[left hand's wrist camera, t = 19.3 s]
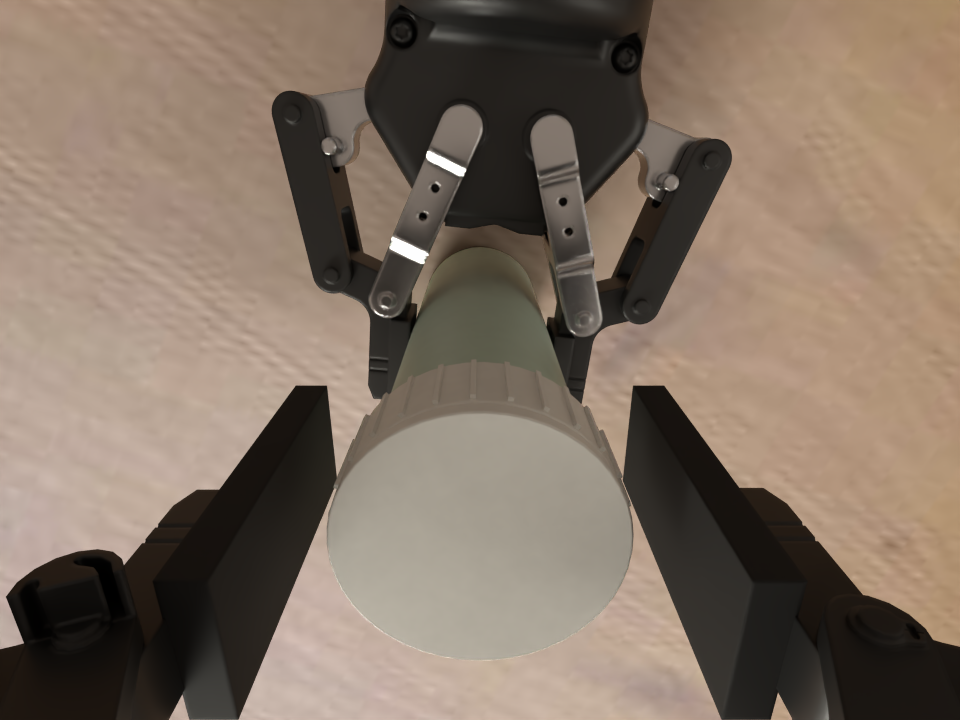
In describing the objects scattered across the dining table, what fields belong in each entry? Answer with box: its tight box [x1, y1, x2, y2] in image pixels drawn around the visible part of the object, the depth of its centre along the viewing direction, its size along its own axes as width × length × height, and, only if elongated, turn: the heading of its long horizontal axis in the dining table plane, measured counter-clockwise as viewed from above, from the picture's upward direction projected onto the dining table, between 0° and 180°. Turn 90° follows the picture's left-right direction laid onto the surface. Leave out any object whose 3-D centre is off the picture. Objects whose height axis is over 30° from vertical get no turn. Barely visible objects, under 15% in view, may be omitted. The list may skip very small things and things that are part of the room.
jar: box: [392, 247, 567, 392], centre depth 18 cm, size 5×5×16 cm
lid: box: [327, 359, 633, 661], centre depth 11 cm, size 6×6×2 cm
